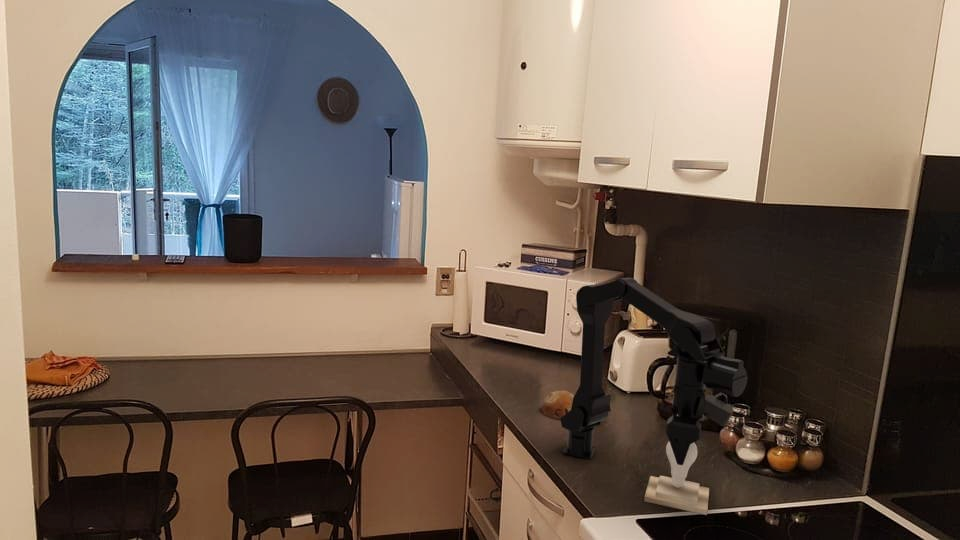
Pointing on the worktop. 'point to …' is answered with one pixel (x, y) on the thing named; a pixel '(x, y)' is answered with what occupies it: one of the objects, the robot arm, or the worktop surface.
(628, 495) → the worktop surface
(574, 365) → the worktop surface
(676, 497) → the base
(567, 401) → the bread roll
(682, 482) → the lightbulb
